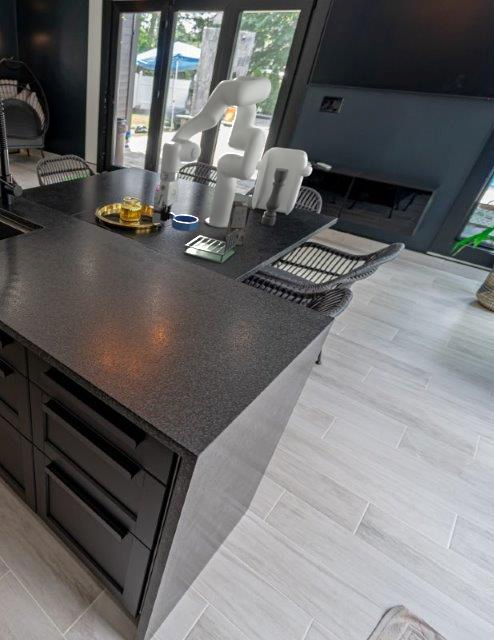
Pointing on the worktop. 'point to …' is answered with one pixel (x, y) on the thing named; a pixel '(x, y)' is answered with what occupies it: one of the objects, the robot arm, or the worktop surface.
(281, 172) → the candle holder
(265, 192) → the toaster
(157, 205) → the candy bar box
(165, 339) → the worktop surface
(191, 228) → the pan
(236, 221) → the coffee box
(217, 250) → the dish rack
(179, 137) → the robot arm
